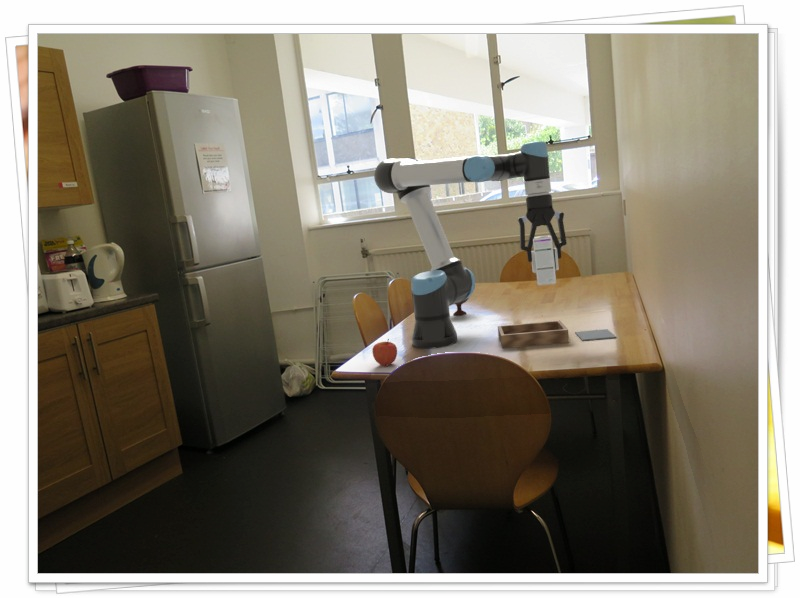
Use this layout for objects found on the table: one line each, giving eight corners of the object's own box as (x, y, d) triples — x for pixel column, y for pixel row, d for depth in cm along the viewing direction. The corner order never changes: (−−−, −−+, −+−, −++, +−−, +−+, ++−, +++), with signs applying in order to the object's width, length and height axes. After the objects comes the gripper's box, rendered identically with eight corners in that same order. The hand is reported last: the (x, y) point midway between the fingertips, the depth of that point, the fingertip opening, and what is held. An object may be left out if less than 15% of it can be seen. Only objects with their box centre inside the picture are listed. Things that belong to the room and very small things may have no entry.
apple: (376, 362, 174) (372, 337, 173) (399, 360, 173) (396, 335, 172) (372, 369, 167) (369, 343, 166) (397, 367, 166) (394, 341, 165)
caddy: (502, 348, 174) (501, 335, 173) (498, 337, 187) (497, 326, 186) (569, 342, 172) (568, 329, 171) (560, 332, 184) (560, 320, 184)
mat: (582, 340, 172) (582, 339, 172) (575, 333, 182) (575, 331, 181) (616, 338, 171) (616, 336, 171) (607, 330, 181) (607, 329, 180)
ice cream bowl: (465, 310, 237) (462, 274, 235) (477, 314, 227) (474, 277, 224) (442, 314, 234) (438, 278, 232) (453, 318, 224) (449, 281, 221)
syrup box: (556, 284, 171) (552, 235, 169) (536, 285, 173) (532, 238, 170) (555, 281, 177) (552, 234, 175) (536, 282, 178) (532, 236, 176)
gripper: (507, 199, 168) (515, 276, 172) (573, 190, 166) (580, 268, 169) (505, 199, 176) (513, 273, 179) (568, 190, 173) (575, 265, 177)
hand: (545, 270), depth 174 cm, fingers closed on syrup box, 6 cm apart
